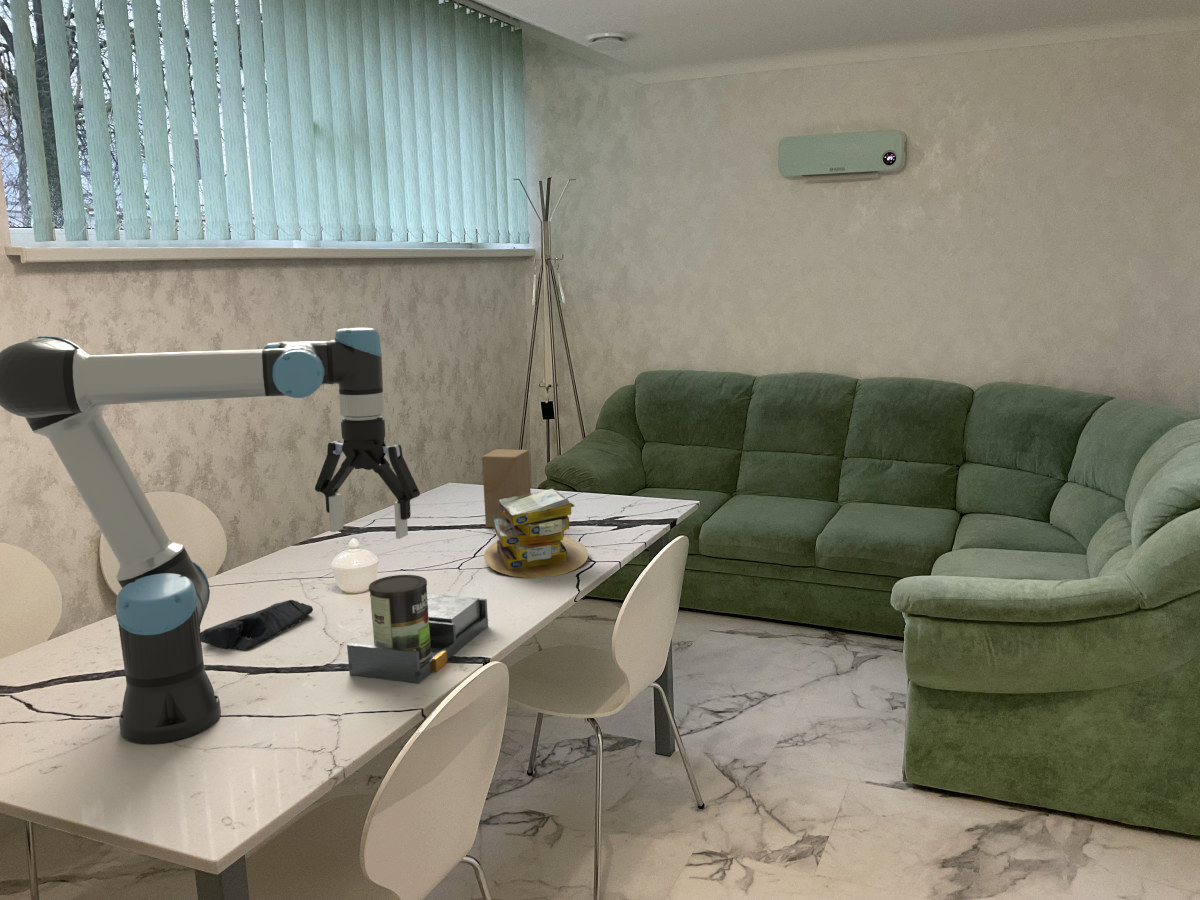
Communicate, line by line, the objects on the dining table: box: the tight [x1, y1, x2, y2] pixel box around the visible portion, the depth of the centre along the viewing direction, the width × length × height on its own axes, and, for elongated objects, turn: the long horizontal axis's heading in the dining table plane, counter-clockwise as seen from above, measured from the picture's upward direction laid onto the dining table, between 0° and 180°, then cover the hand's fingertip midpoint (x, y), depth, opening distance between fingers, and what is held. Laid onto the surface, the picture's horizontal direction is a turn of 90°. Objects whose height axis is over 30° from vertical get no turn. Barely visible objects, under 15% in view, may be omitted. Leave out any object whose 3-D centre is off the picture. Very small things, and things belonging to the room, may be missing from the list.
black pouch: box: [200, 599, 314, 651], centre depth 204 cm, size 15×22×5 cm
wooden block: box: [481, 448, 532, 529], centre depth 274 cm, size 10×10×20 cm
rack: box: [346, 593, 489, 684], centre depth 189 cm, size 28×15×6 cm, turn 161°
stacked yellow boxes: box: [483, 488, 589, 579], centre depth 240 cm, size 25×25×17 cm
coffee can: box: [368, 574, 432, 663], centre depth 182 cm, size 10×10×14 cm
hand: (369, 533), depth 180 cm, fingers open, 13 cm apart
